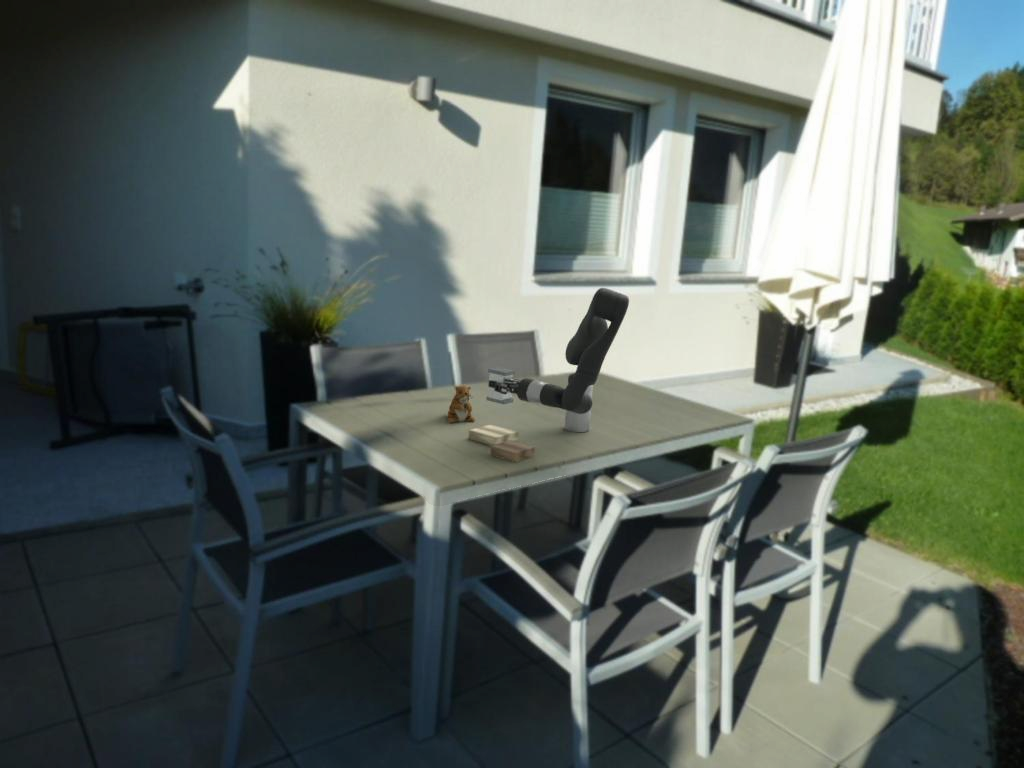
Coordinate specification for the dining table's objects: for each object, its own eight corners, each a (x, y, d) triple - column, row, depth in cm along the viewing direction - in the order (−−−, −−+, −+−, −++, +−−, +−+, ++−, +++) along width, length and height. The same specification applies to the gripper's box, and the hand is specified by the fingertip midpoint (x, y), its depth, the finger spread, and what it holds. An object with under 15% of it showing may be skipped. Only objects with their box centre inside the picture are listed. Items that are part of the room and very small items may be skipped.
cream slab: (491, 432, 269) (491, 424, 268) (517, 439, 262) (518, 431, 261) (468, 438, 260) (469, 430, 259) (495, 446, 253) (495, 437, 252)
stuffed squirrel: (449, 424, 277) (451, 389, 274) (442, 414, 290) (444, 380, 287) (476, 423, 280) (478, 388, 277) (468, 413, 293) (469, 380, 290)
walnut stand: (510, 448, 251) (510, 440, 250) (533, 456, 245) (534, 447, 244) (490, 454, 243) (490, 445, 243) (514, 462, 237) (515, 453, 237)
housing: (495, 397, 259) (497, 366, 256) (513, 402, 254) (515, 370, 252) (486, 400, 255) (488, 368, 252) (503, 404, 250) (505, 372, 248)
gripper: (548, 377, 249) (508, 368, 260) (521, 383, 238) (481, 374, 248) (547, 399, 251) (507, 390, 261) (520, 406, 240) (480, 396, 250)
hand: (494, 382), depth 255 cm, fingers closed on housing, 5 cm apart
